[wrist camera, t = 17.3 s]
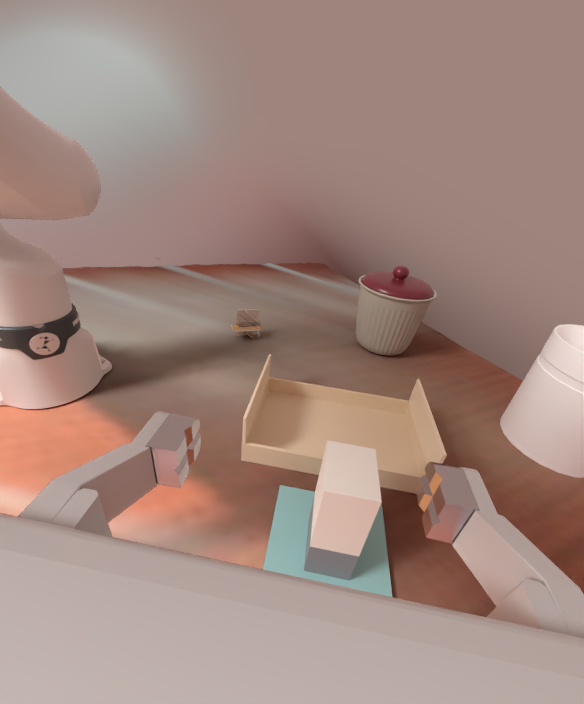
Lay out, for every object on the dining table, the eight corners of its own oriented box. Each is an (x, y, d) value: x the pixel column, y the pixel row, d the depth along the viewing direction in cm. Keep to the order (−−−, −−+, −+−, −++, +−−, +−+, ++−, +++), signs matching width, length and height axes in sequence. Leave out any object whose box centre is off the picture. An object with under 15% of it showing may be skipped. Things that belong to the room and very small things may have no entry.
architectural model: (261, 342, 79) (263, 314, 75) (233, 344, 77) (234, 316, 73) (257, 335, 82) (259, 309, 78) (231, 337, 79) (231, 310, 76)
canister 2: (486, 405, 65) (535, 318, 55) (567, 419, 64) (631, 333, 54) (524, 468, 52) (597, 367, 42) (627, 487, 51) (729, 388, 40)
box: (349, 580, 34) (381, 502, 27) (303, 570, 35) (323, 491, 27) (348, 526, 39) (375, 449, 32) (308, 518, 40) (327, 440, 33)
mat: (395, 639, 31) (396, 636, 31) (255, 608, 32) (255, 605, 31) (380, 507, 43) (381, 504, 43) (279, 487, 44) (280, 485, 43)
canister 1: (331, 339, 83) (347, 259, 73) (372, 324, 94) (391, 253, 83) (388, 372, 72) (417, 284, 61) (428, 351, 83) (458, 273, 72)
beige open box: (425, 495, 45) (447, 455, 41) (241, 460, 47) (242, 417, 43) (405, 415, 60) (419, 379, 56) (265, 390, 62) (268, 353, 57)
